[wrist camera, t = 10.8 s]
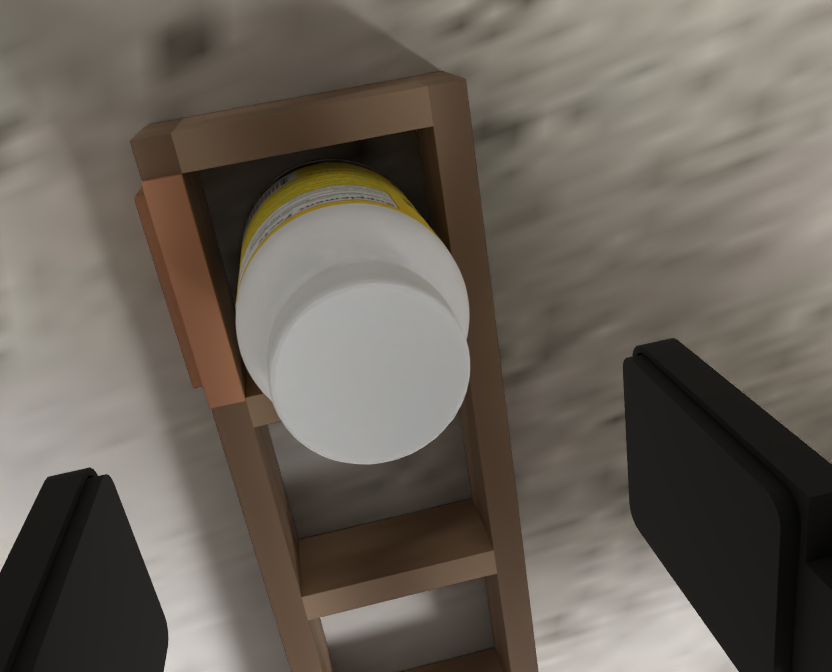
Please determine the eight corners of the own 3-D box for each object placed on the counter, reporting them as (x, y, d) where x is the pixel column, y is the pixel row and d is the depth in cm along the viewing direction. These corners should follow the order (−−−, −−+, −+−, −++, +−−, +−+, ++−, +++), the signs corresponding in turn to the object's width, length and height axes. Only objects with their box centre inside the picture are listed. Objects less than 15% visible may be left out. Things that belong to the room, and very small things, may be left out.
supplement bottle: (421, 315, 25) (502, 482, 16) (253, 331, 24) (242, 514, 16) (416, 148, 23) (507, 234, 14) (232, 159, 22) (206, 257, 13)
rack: (442, 71, 22) (467, 80, 19) (520, 659, 32) (545, 724, 29) (133, 127, 21) (111, 145, 19) (309, 714, 31) (313, 786, 28)
